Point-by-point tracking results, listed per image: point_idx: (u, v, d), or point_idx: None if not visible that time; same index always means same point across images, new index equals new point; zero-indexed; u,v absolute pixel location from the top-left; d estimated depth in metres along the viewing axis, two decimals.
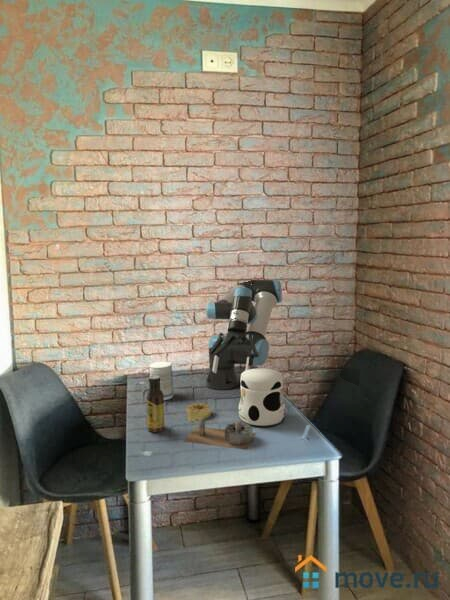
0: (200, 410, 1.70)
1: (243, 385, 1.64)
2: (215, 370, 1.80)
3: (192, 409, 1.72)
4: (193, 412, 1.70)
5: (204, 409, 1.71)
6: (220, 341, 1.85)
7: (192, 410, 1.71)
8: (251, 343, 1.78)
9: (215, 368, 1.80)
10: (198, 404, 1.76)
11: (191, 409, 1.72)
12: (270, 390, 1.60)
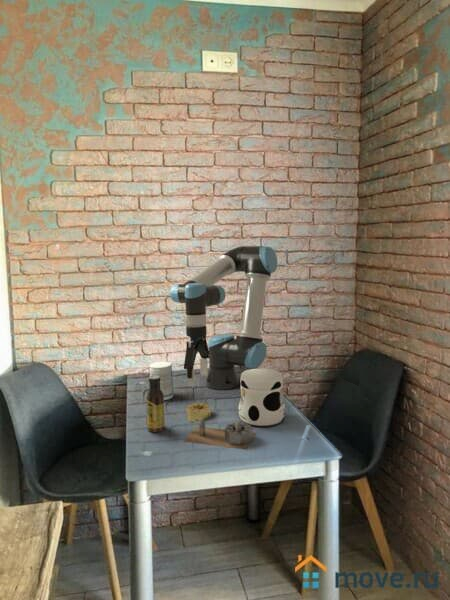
0: (200, 410, 1.70)
1: (243, 385, 1.64)
2: (203, 373, 1.78)
3: (192, 409, 1.72)
4: (193, 412, 1.70)
5: (204, 409, 1.71)
6: None
7: (192, 410, 1.71)
8: None
9: (203, 371, 1.78)
10: (198, 404, 1.76)
11: (191, 409, 1.72)
12: (270, 390, 1.60)
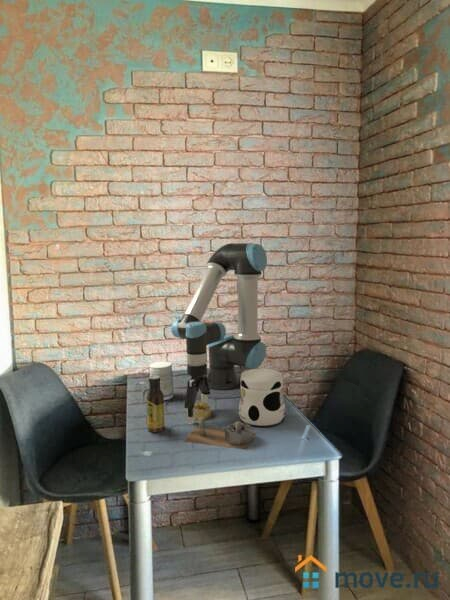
0: (200, 410, 1.70)
1: (243, 385, 1.64)
2: None
3: None
4: None
5: (204, 409, 1.71)
6: None
7: None
8: None
9: None
10: (198, 404, 1.76)
11: None
12: (270, 390, 1.60)
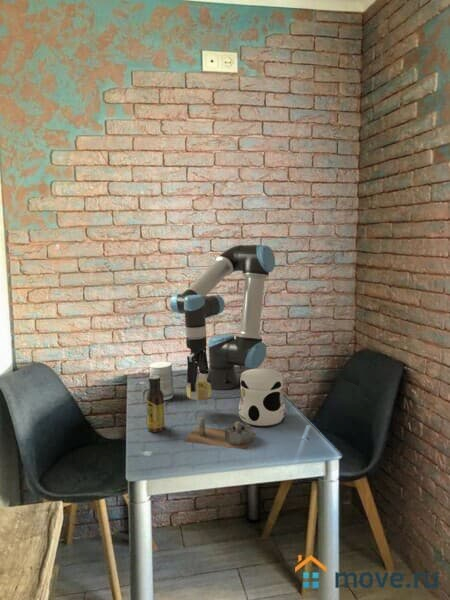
0: (200, 388, 1.70)
1: (243, 385, 1.64)
2: None
3: None
4: None
5: (204, 387, 1.70)
6: None
7: None
8: None
9: None
10: (198, 382, 1.76)
11: None
12: (270, 390, 1.60)
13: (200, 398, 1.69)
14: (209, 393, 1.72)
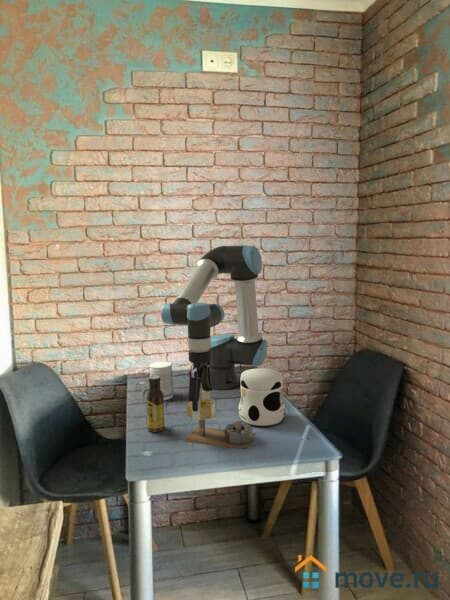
0: (203, 406, 1.52)
1: (243, 385, 1.64)
2: None
3: None
4: None
5: (207, 405, 1.53)
6: None
7: None
8: None
9: None
10: (200, 400, 1.58)
11: None
12: (270, 390, 1.60)
13: (202, 418, 1.51)
14: (212, 413, 1.54)
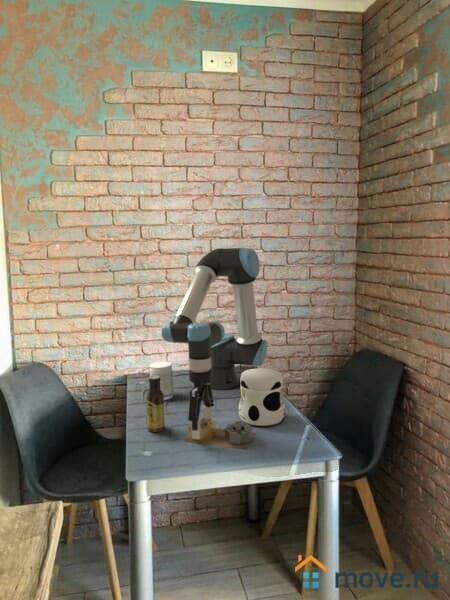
0: (204, 427, 1.53)
1: (243, 385, 1.64)
2: None
3: None
4: None
5: (208, 426, 1.54)
6: None
7: None
8: None
9: None
10: None
11: None
12: (270, 390, 1.60)
13: (203, 439, 1.52)
14: (213, 433, 1.55)
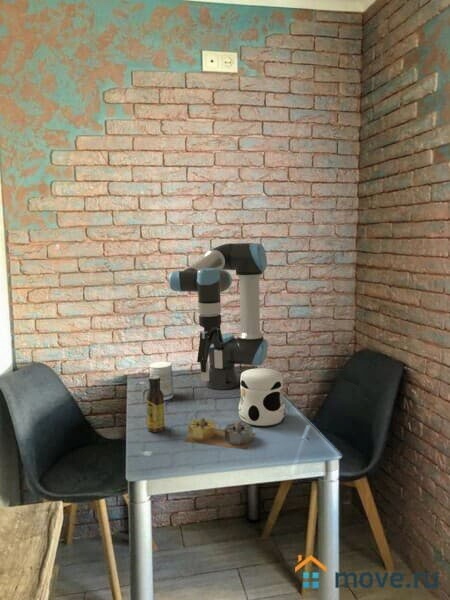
0: (204, 427, 1.53)
1: (243, 385, 1.64)
2: (217, 366, 1.64)
3: (195, 426, 1.54)
4: (196, 430, 1.52)
5: (208, 426, 1.54)
6: None
7: (195, 427, 1.53)
8: None
9: (217, 364, 1.64)
10: None
11: (194, 426, 1.54)
12: (270, 390, 1.60)
13: (203, 439, 1.52)
14: (213, 433, 1.55)
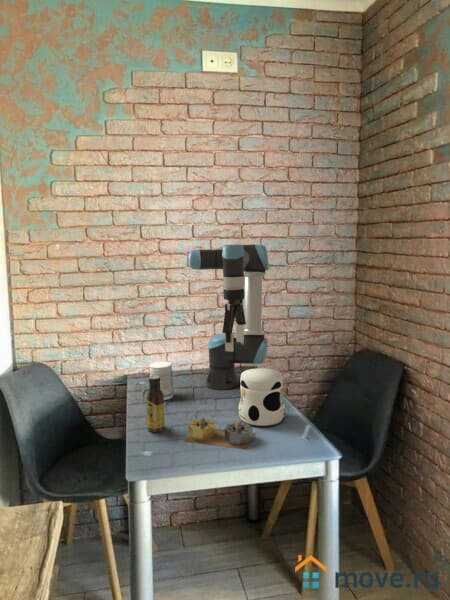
0: (204, 427, 1.53)
1: (243, 385, 1.64)
2: (239, 340, 1.71)
3: (195, 426, 1.54)
4: (196, 430, 1.52)
5: (208, 426, 1.54)
6: None
7: (195, 427, 1.53)
8: None
9: (239, 338, 1.71)
10: None
11: (194, 426, 1.54)
12: (270, 390, 1.60)
13: (203, 439, 1.52)
14: (213, 433, 1.55)
